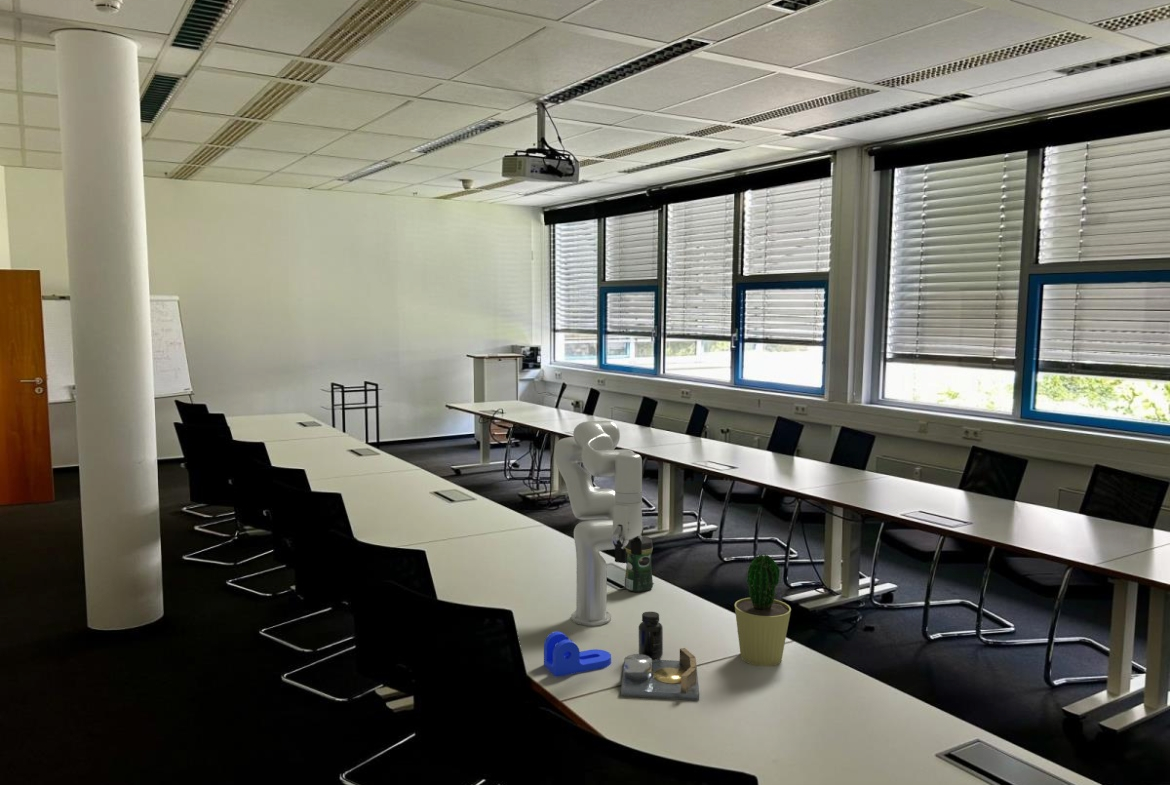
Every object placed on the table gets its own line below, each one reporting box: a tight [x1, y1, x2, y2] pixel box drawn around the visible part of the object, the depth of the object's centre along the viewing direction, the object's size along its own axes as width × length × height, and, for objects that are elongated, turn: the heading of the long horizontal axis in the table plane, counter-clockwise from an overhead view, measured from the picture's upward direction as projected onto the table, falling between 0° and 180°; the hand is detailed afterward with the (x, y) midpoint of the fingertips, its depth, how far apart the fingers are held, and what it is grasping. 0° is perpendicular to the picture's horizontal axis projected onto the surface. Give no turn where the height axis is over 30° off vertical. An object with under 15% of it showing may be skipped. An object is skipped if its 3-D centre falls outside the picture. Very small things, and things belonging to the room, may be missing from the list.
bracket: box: [543, 631, 612, 678], centre depth 221 cm, size 18×8×9 cm, turn 115°
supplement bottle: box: [638, 611, 664, 660], centre depth 228 cm, size 7×7×12 cm
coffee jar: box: [624, 535, 654, 593], centre depth 284 cm, size 10×8×19 cm
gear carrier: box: [620, 647, 700, 701], centre depth 212 cm, size 20×20×6 cm
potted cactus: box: [734, 554, 792, 667], centre depth 226 cm, size 15×15×30 cm
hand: (628, 558), depth 226 cm, fingers open, 9 cm apart
